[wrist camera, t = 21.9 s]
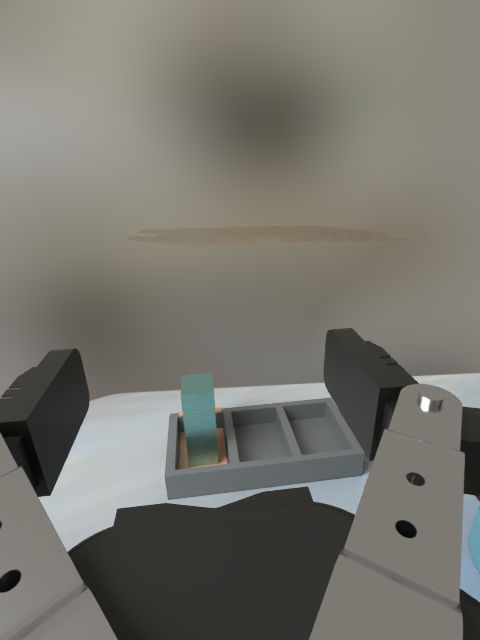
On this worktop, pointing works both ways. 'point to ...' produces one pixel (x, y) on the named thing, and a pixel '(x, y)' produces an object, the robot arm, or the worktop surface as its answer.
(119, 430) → the worktop surface
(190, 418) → the brushed teal metal block
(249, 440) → the slot rack
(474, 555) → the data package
